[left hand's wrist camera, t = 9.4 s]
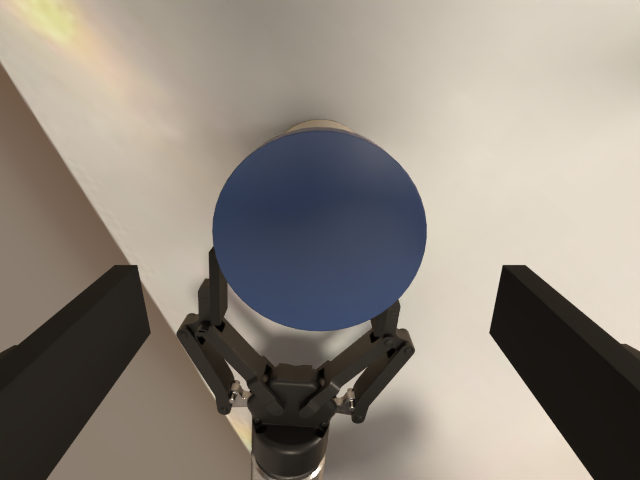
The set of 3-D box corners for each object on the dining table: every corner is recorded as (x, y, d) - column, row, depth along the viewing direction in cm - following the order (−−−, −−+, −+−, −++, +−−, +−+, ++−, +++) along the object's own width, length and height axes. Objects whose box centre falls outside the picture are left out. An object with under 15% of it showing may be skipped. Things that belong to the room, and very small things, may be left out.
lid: (374, 89, 18) (381, 89, 16) (440, 270, 21) (454, 288, 19) (186, 179, 19) (170, 189, 17) (276, 333, 23) (272, 357, 21)
